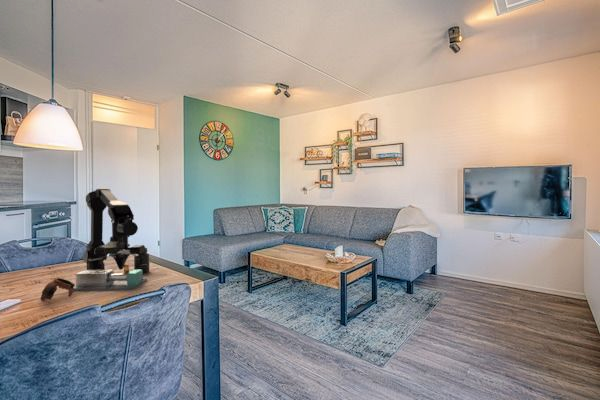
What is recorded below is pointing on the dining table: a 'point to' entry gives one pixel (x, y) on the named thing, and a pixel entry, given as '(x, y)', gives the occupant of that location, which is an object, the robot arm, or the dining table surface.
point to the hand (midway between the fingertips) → (121, 269)
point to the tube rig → (98, 281)
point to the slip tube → (119, 275)
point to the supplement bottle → (142, 261)
